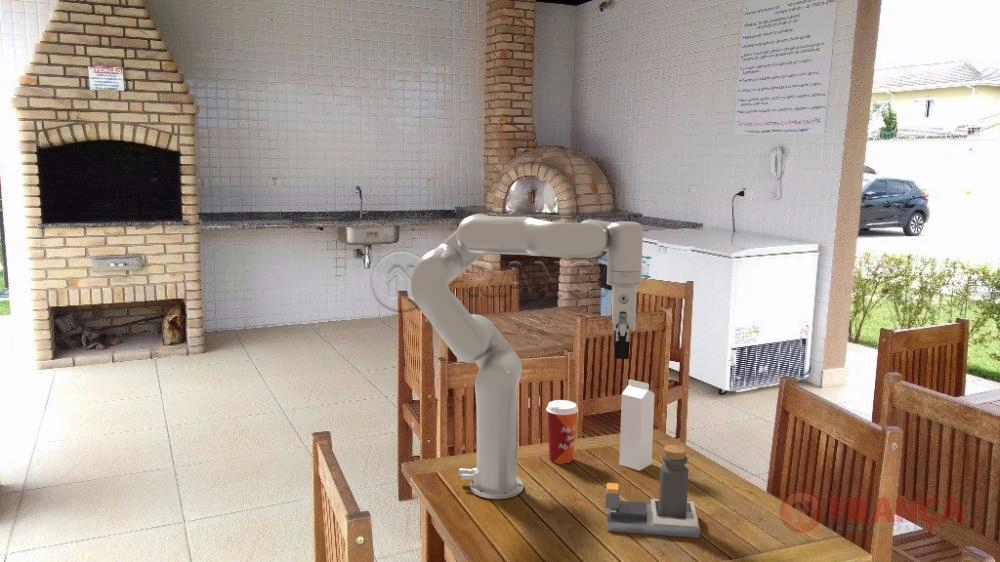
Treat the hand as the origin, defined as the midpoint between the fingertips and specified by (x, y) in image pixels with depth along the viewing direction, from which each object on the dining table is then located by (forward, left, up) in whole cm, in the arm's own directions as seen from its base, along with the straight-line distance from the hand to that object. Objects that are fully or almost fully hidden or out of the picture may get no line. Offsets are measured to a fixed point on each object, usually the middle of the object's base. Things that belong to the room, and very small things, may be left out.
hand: (621, 353), depth 173 cm
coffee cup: (-14, +20, -34) cm, 42 cm away
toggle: (-1, -12, -31) cm, 33 cm away
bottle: (+12, -12, -32) cm, 36 cm away
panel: (+8, -12, -34) cm, 37 cm away
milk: (+5, +20, -34) cm, 40 cm away
